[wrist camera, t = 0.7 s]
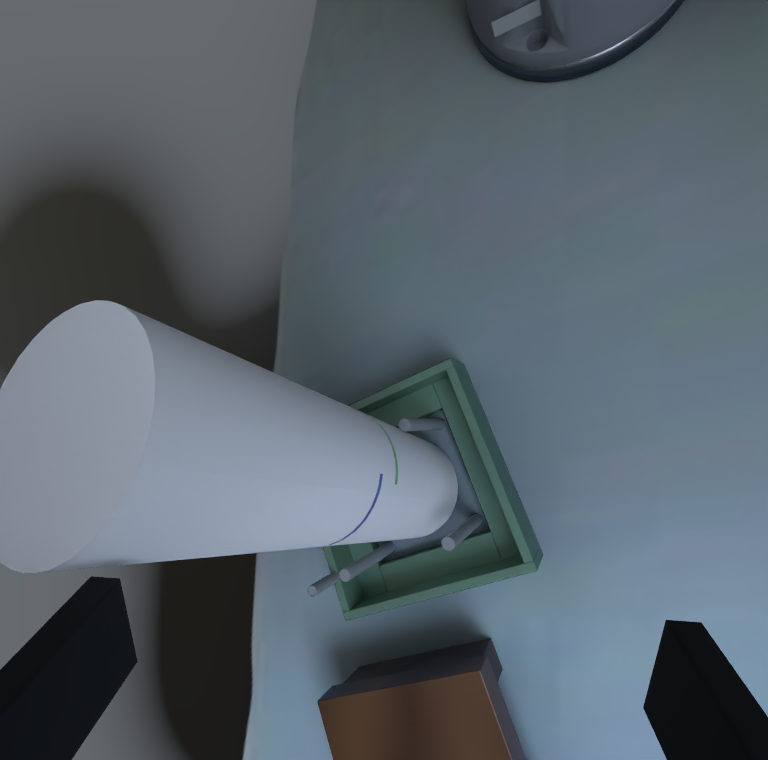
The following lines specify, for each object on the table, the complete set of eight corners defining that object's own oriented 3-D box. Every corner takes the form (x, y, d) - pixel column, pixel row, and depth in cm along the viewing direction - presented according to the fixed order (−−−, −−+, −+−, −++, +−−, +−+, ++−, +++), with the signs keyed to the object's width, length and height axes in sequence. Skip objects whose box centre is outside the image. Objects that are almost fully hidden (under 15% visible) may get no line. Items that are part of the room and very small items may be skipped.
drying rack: (463, 363, 33) (433, 350, 27) (543, 555, 30) (529, 591, 24) (313, 432, 38) (257, 435, 32) (367, 603, 35) (317, 643, 29)
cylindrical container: (356, 518, 35) (-56, 514, 13) (384, 428, 36) (44, 288, 14) (441, 553, 31) (75, 627, 10) (469, 453, 32) (195, 317, 11)
